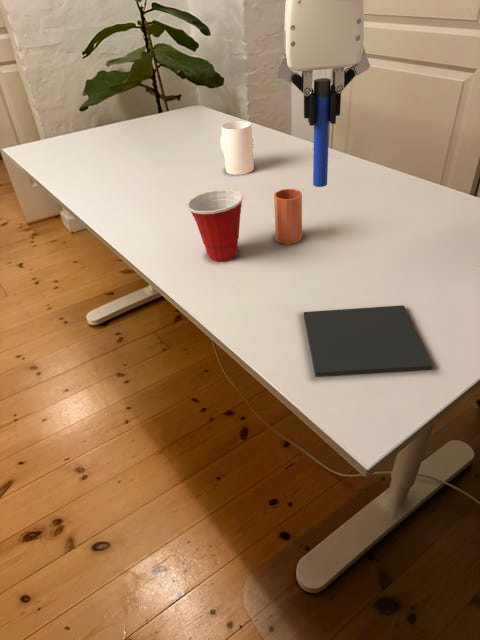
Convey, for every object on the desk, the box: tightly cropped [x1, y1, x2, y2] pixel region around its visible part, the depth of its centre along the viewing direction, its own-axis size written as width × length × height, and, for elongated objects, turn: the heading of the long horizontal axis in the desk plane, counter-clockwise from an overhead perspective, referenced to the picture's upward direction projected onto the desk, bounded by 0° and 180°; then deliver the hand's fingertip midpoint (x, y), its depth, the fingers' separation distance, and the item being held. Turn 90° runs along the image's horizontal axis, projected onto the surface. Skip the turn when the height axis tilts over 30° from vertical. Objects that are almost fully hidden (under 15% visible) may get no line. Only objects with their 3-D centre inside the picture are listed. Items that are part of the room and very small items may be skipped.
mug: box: [219, 120, 255, 176], centre depth 128 cm, size 8×12×12 cm
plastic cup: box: [186, 188, 245, 262], centre depth 89 cm, size 11×11×12 cm
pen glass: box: [273, 188, 303, 245], centre depth 94 cm, size 5×5×10 cm
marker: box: [312, 77, 332, 188], centre depth 69 cm, size 2×2×15 cm
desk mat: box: [303, 305, 434, 377], centre depth 69 cm, size 16×14×1 cm
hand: (321, 121), depth 67 cm, fingers closed on marker, 2 cm apart
